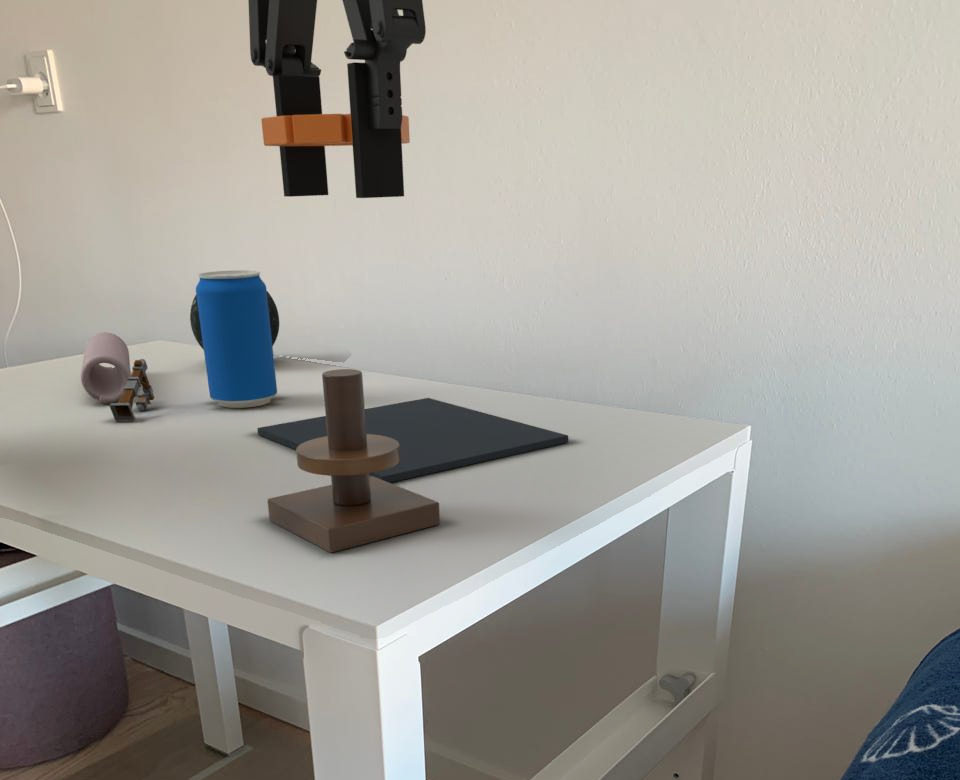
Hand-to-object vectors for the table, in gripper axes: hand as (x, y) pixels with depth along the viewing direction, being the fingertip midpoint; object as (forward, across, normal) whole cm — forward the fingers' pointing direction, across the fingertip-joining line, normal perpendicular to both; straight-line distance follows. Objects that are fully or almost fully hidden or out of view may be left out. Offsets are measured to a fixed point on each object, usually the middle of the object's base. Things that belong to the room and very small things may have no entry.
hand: (341, 196), depth 59 cm
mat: (+19, +14, -13) cm, 27 cm away
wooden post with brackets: (+19, +39, +2) cm, 44 cm away
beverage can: (+19, +37, -8) cm, 42 cm away
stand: (+19, -2, +2) cm, 19 cm away
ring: (-3, 0, 0) cm, 3 cm away
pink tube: (+19, +53, -1) cm, 57 cm away
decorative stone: (+19, +57, -17) cm, 62 cm away
